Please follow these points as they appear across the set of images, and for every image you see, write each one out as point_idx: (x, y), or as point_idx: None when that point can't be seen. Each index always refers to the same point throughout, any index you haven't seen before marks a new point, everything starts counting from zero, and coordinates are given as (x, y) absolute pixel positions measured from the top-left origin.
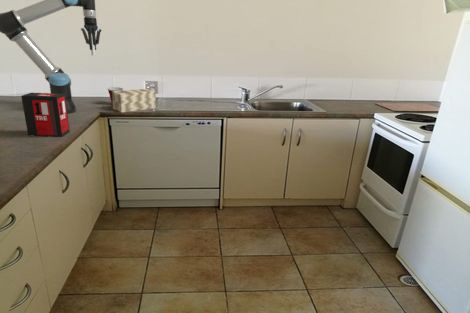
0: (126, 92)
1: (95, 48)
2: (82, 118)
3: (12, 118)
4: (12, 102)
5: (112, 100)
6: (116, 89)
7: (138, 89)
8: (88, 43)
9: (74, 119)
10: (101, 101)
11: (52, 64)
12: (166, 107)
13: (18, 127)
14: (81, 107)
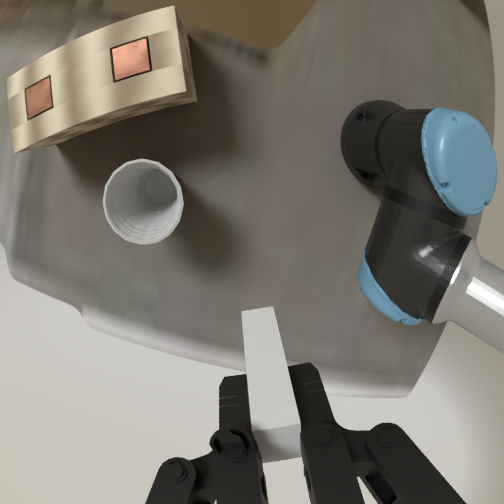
0: (123, 52)
1: (232, 395)
2: (344, 12)
3: None
4: None
5: (175, 177)
6: (133, 231)
7: (46, 133)
8: (383, 430)
9: (368, 15)
10: (205, 272)
11: (487, 290)
12: None
13: (476, 37)
14: (309, 182)
